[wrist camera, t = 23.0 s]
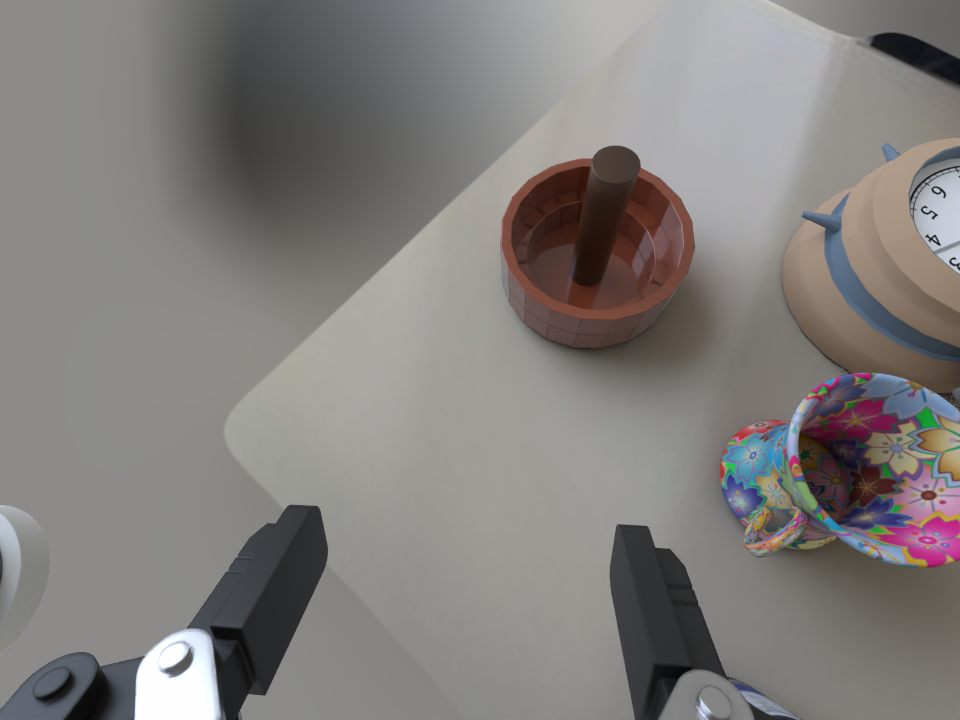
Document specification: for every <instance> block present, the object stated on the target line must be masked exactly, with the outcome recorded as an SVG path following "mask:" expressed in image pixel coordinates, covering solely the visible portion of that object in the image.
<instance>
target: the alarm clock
mask: <svg viewBox="0 0 960 720" xmlns="http://www.w3.org/2000/svg"><path fill="white" fill-rule="evenodd" d="M882 149H883V151H884V154H885V157H886V160H887V163H885V164H884V165H882V166H881V167H879V168H877V169H876V170H874V171H872V172H871V173H869V174H868V175H866V176H864V177H863V179H862V180H861V181H860V182H859V183H858V185H856V186H853V187H849V188H847V189H845V190H844V191H842V192H840V193H839V194H837V195H835V196H834V197H832V198H831V199H829V200H827V201H826V202H824V203H822V204H821V205H820V206H819V207H818V209H817V210H816V211H815V212H814V213H813V212H805V211H804V212H803V213H802V215H801V217H803V218H805V219H807V220H806V221H805V223H804V224H803V225H802V226H801V227H800V228H799V229H798V231H797V232H796V233H795V234H794V235H793V236H792V238H791V240H790V242H789V245H788V247H787V250H786V253H785V255H784V258H783V272H782V285H783V289H784V293H785V296H786V300H787V303H788V307H789V309H790V311H791V313H792V314H793V316H794V318H795V320H796V321H797V323H798V325H799V326H800V328H801V330H802V331H803V333H804V334H805V335H806V336H807V337H808V338H809V339H810V340H811V341H812V342H813V343H814V344H815V345H816V346H817V347H818V349H819V350H820V351H821V352H822V353H823V354H824V355H825V356H827V357H828V358H830V359H831V360H833V361H834V362H836V363H837V364H839V365H840V366H842V367H843V368H845V369H846V370H847V371H849V372H850V373H852V374H855V373H878V374H886V375H892V376H896V377H900V378H903V379H906V380H909V381H912V382H914V383H917V384H919V385H921V386H923V387H925V388H927V389H929V390H931V391H933V392H934V393H953V396H954V398H955V400H957V401H958V402H959V403H960V137H959V138H945V139H939V140H935V141H932V142H928V143H925V144H922V145H918V146H915V147H914V148H912V149H910V150H909V151H907V152H905V153H904V154H902V155H900V154H899V153H898V152H897V151H896V150H895V149H894V148H893V147H891V146H890V145H889V144H888V143H886V144H884V145H883V146H882Z"/></svg>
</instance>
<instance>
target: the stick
mask: <svg viewBox="0 0 960 720" xmlns="http://www.w3.org/2000/svg"><path fill="white" fill-rule="evenodd" d="M640 166H641V165H640V160H639V158H638V156H637V155H636V154H635V153H634V152H633V151H632V150H630V149H628V148H626V147H623V146H608V147H605V148H603V149H601V150H599V151H598V152H597V153H596V154H595V155H594V157H593V159H592V162H591V167H590V172H589V177H588V182H587V187H586V192H585V197H584V202H583V207H582V212H581V217H580V222H579V226H578V231H577V236H576V241H575V246H574V251H573V256H572V261H571V266H570V275H571V277H572V278H573V280H574V281H575V282H577V283H578V284H580V285H584V286H592V285H595V284H597V283H599V282H600V281H601V280H602V278H603V276H604V274H605V271H606V268H607V265H608V262H609V259H610V256H611V253H612V250H613V247H614V244H615V241H616V238H617V236H618V233H619V230H620V227H621V224H622V221H623V218H624V215H625V212H626V209H627V206H628V203H629V200H630V198H631V195H632V192H633V189H634V186H635V183H636V180H637V177H638V174H639V171H640Z"/></svg>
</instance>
